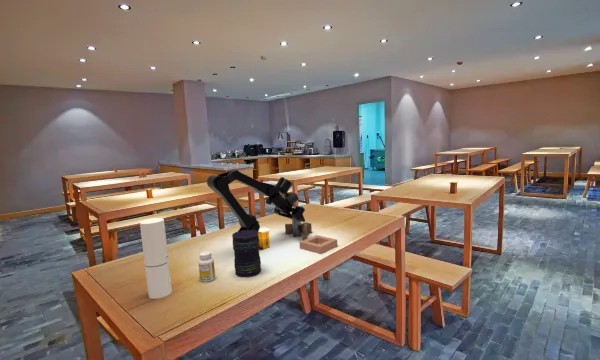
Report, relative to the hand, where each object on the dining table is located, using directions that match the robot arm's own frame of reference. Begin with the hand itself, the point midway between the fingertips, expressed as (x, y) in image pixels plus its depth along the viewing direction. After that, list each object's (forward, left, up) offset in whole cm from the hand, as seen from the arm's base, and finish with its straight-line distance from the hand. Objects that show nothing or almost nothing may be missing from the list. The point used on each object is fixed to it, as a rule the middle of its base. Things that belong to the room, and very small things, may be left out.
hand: (298, 219), depth 161 cm
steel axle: (-1, +1, -8) cm, 8 cm away
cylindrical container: (-64, +35, -8) cm, 73 cm away
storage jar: (-45, +11, -8) cm, 47 cm away
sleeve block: (-17, -12, -8) cm, 22 cm away
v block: (+1, -1, -8) cm, 8 cm away
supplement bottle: (-52, +24, -8) cm, 58 cm away
